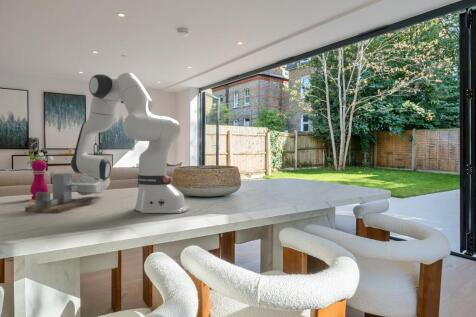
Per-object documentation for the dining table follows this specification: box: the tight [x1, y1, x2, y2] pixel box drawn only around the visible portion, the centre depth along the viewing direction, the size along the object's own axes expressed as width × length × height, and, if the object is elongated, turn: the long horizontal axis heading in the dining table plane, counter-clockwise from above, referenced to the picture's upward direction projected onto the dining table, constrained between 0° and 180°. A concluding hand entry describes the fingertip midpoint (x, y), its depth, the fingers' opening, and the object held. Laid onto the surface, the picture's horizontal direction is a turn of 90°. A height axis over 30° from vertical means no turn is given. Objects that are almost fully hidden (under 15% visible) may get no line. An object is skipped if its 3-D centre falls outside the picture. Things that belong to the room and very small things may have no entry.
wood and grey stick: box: [28, 199, 52, 206], centre depth 130 cm, size 9×2×2 cm, turn 82°
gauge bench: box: [24, 191, 93, 214], centre depth 137 cm, size 14×22×8 cm, turn 172°
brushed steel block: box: [51, 172, 73, 206], centre depth 136 cm, size 5×10×12 cm, turn 172°
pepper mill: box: [29, 156, 49, 200], centre depth 155 cm, size 7×7×20 cm
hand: (66, 189), depth 141 cm, fingers closed, pressing on brushed steel block
